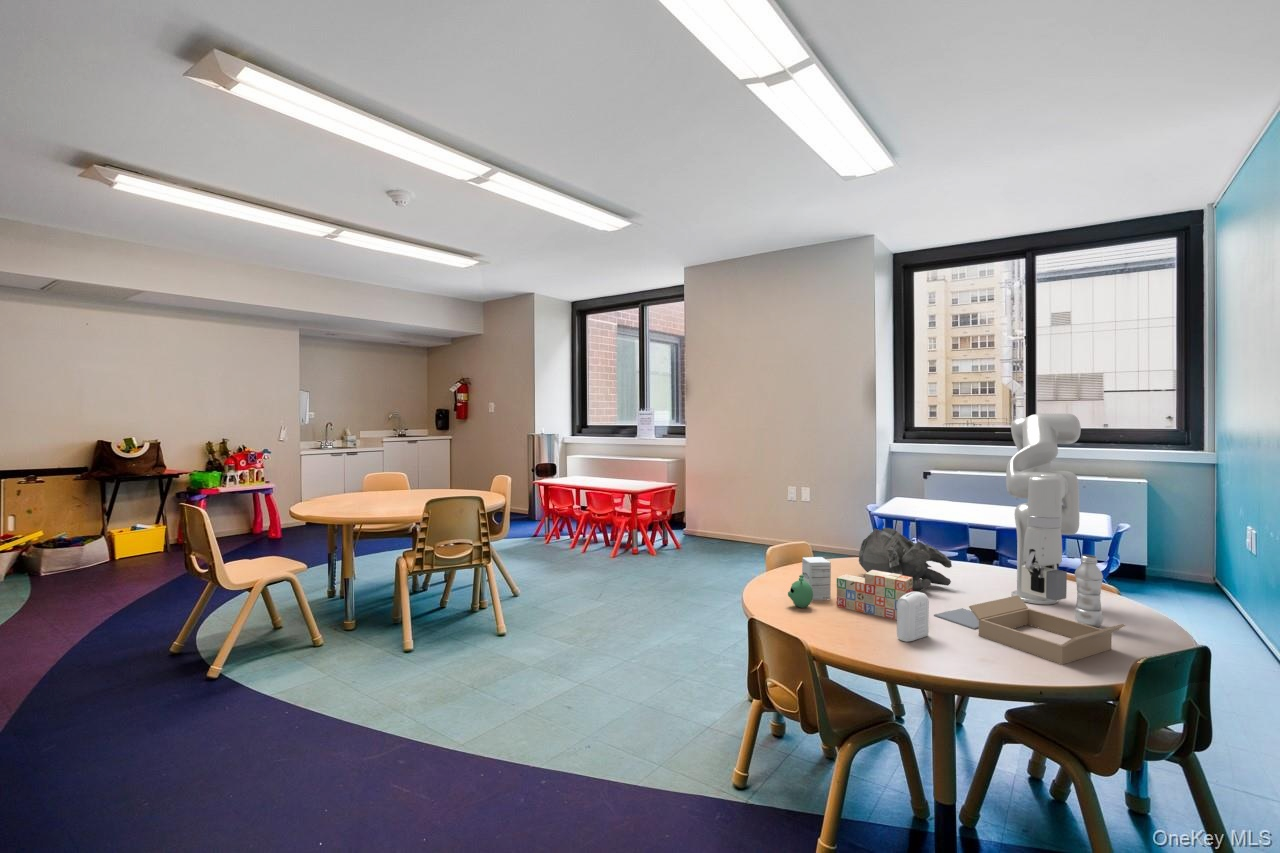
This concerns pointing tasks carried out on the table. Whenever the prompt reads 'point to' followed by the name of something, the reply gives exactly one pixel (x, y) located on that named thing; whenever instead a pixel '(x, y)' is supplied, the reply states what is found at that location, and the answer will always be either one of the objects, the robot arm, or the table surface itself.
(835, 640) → the table surface
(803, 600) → the alien toy
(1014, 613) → the carton
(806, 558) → the supplement box
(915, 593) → the photo printer
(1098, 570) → the plastic bottle
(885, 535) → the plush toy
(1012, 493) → the robot arm
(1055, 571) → the box
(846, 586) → the stack of blocks
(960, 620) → the mat
